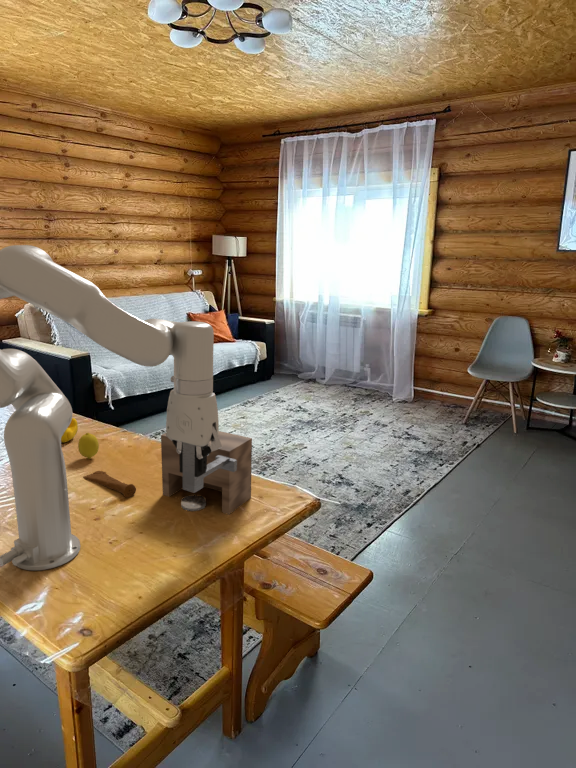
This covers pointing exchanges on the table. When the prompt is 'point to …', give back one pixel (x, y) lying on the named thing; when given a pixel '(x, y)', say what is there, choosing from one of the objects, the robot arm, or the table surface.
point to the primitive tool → (112, 483)
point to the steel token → (193, 502)
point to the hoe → (196, 483)
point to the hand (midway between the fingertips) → (192, 471)
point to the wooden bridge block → (228, 482)
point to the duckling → (70, 431)
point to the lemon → (88, 445)
